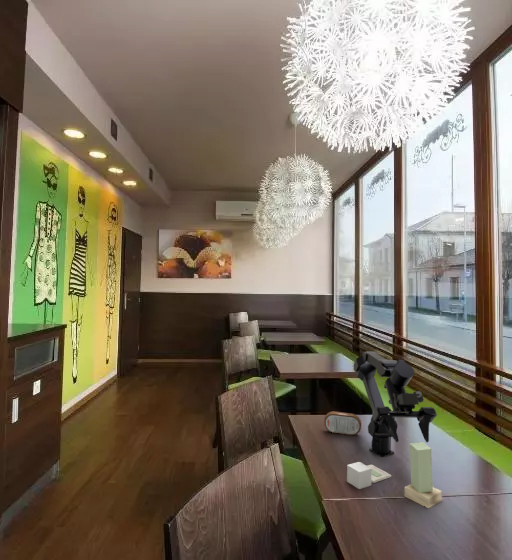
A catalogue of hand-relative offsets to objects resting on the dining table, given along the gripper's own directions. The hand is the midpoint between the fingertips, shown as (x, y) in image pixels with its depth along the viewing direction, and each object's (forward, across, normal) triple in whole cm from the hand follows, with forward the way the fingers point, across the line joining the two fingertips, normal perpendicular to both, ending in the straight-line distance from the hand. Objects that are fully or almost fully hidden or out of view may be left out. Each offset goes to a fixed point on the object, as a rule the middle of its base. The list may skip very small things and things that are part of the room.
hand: (412, 441), depth 108 cm
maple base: (+14, 0, +5) cm, 15 cm away
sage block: (+12, 0, +3) cm, 12 cm away
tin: (-19, -10, +39) cm, 44 cm away
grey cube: (+8, -16, +10) cm, 21 cm away
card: (+4, -10, +14) cm, 18 cm away
